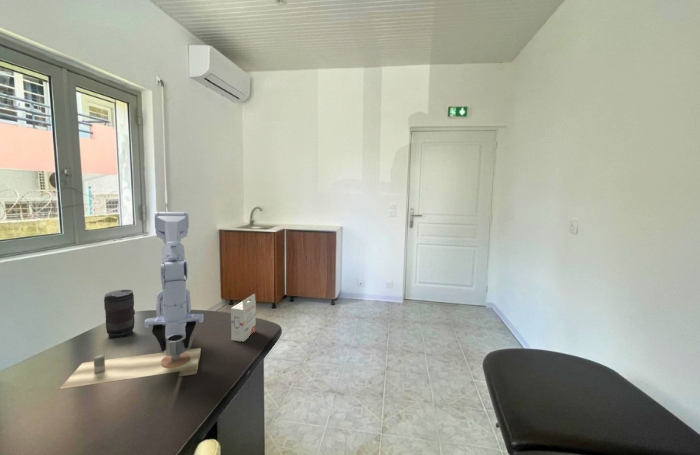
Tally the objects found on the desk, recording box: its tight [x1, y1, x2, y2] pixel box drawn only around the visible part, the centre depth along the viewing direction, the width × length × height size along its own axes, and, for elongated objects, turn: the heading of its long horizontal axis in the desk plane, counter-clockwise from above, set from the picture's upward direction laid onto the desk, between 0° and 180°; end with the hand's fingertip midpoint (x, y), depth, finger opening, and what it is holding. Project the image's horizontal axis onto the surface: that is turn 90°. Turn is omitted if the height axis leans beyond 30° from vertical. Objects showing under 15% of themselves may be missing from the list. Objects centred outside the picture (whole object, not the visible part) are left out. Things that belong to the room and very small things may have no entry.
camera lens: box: [103, 289, 136, 340], centre depth 103 cm, size 8×8×15 cm
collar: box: [163, 333, 187, 356], centre depth 87 cm, size 5×5×4 cm
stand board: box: [59, 347, 202, 390], centre depth 84 cm, size 12×30×6 cm, turn 111°
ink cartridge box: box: [230, 293, 257, 343], centre depth 107 cm, size 9×5×15 cm, turn 168°
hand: (175, 347), depth 87 cm, fingers closed on collar, 5 cm apart
